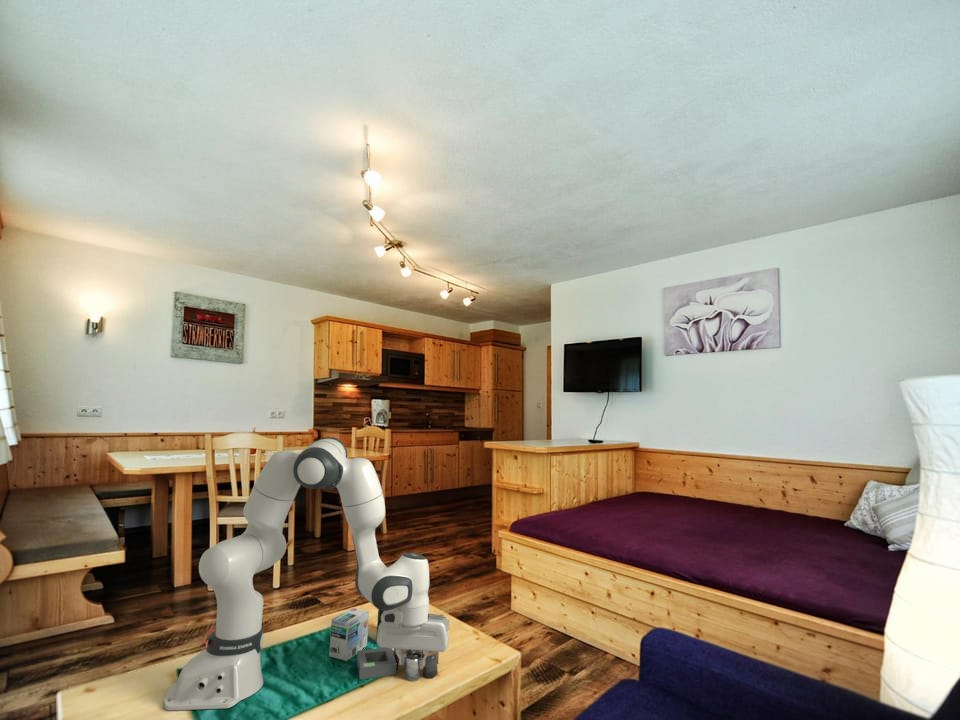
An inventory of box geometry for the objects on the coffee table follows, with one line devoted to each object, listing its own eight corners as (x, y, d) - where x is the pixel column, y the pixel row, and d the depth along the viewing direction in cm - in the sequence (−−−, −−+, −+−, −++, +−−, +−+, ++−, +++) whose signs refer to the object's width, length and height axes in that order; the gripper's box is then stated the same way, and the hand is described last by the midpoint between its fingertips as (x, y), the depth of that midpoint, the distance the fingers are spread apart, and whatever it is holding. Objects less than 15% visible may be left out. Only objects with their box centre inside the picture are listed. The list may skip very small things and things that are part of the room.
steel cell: (406, 682, 132) (407, 654, 133) (404, 674, 136) (405, 647, 137) (420, 680, 133) (422, 652, 134) (418, 672, 137) (419, 645, 138)
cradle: (359, 679, 132) (360, 667, 133) (356, 661, 142) (357, 650, 142) (395, 674, 136) (396, 662, 136) (390, 657, 145) (391, 646, 145)
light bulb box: (346, 661, 142) (349, 623, 143) (328, 656, 144) (330, 618, 145) (367, 646, 152) (369, 610, 153) (350, 641, 154) (352, 606, 155)
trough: (397, 668, 139) (398, 657, 139) (393, 655, 146) (394, 645, 147) (438, 663, 142) (438, 653, 143) (432, 651, 150) (432, 640, 150)
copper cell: (425, 678, 134) (422, 650, 135) (422, 673, 137) (420, 645, 139) (439, 675, 135) (436, 647, 136) (436, 669, 139) (433, 642, 140)
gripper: (451, 610, 138) (450, 661, 136) (382, 606, 141) (381, 656, 139) (447, 620, 132) (446, 673, 130) (375, 615, 134) (373, 667, 133)
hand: (412, 664), depth 135 cm, fingers open, 4 cm apart
